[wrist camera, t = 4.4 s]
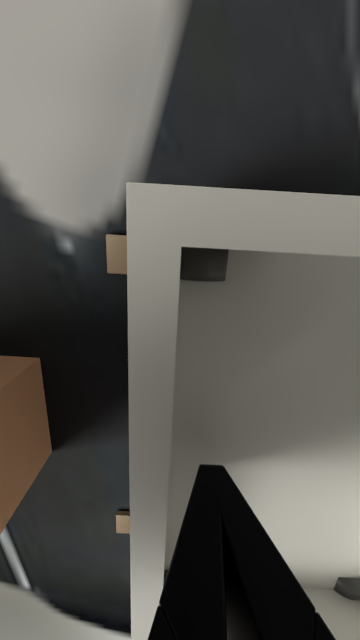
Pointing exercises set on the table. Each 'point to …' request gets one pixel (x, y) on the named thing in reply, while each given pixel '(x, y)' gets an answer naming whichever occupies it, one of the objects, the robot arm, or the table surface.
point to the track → (118, 265)
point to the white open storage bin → (246, 378)
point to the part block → (21, 430)
